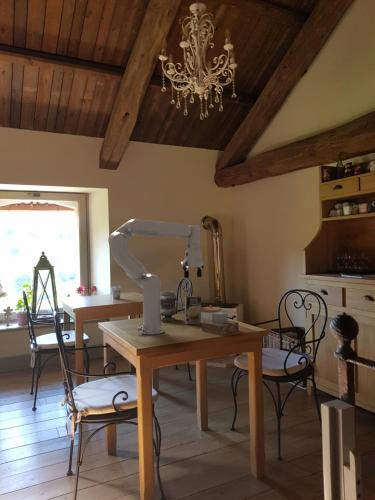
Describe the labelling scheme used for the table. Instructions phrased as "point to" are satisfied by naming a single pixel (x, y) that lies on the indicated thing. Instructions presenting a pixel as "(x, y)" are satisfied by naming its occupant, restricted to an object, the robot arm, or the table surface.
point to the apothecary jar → (168, 305)
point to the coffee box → (192, 310)
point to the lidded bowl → (208, 313)
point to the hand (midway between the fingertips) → (192, 277)
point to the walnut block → (220, 327)
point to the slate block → (219, 317)
